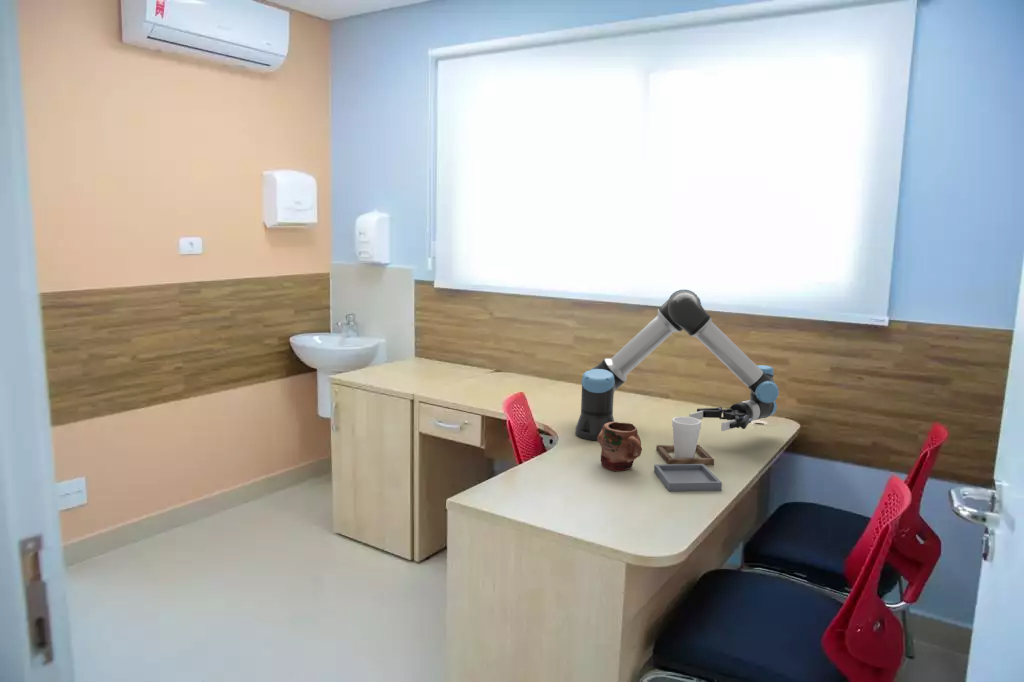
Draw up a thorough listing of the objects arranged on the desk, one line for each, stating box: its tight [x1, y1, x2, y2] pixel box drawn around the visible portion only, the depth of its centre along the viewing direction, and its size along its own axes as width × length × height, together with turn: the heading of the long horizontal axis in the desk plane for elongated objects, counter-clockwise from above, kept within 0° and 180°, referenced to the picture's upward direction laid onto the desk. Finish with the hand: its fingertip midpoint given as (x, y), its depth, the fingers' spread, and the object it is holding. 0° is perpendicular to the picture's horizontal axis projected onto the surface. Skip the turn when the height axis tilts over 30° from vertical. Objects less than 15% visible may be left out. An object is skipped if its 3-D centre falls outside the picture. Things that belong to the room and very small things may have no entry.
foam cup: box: [671, 416, 702, 458], centre depth 242 cm, size 10×9×13 cm
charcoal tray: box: [653, 463, 723, 492], centre depth 222 cm, size 16×16×2 cm
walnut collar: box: [655, 444, 715, 466], centre depth 243 cm, size 15×15×2 cm
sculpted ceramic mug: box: [596, 421, 643, 472], centre depth 231 cm, size 20×12×14 cm, turn 34°
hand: (705, 422), depth 247 cm, fingers open, 13 cm apart
